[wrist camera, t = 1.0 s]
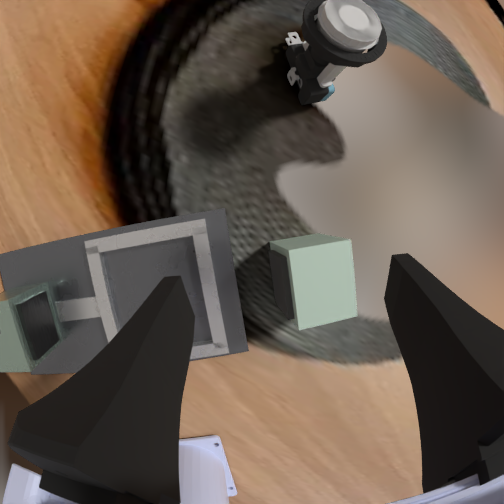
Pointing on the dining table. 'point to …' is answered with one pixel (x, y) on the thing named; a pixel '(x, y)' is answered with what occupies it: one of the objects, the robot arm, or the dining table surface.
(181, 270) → the rail
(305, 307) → the block
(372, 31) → the push button
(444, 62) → the dining table surface
